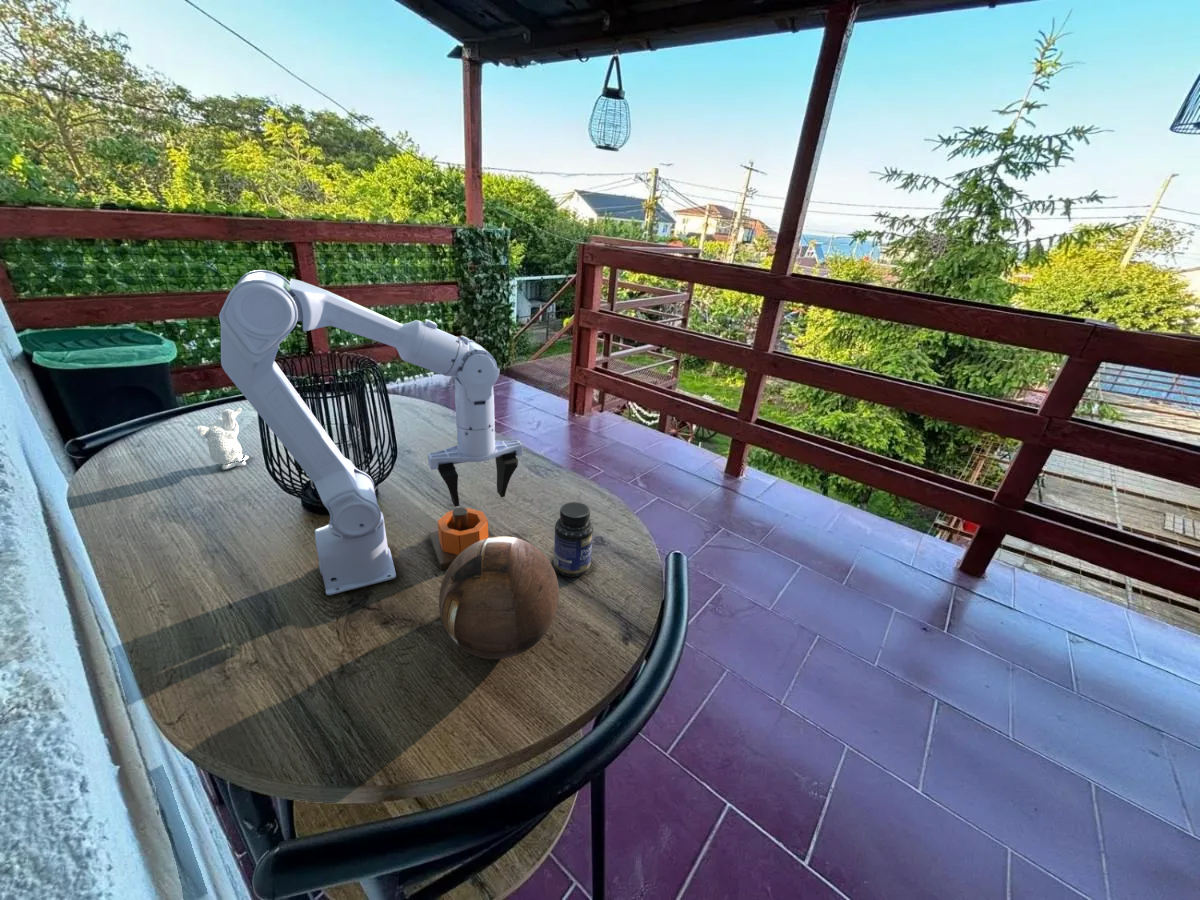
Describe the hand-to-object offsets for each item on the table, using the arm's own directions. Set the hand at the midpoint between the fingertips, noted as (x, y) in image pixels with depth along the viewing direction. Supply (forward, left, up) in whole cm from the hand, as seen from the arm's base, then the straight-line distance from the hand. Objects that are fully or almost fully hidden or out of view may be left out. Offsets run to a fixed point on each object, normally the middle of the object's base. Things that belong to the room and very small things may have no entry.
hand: (478, 498), depth 79 cm
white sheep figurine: (-39, +46, -9) cm, 61 cm away
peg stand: (-3, 0, -9) cm, 9 cm away
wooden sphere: (-3, -22, -9) cm, 24 cm away
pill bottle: (+12, -12, -9) cm, 19 cm away
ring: (-3, 0, -8) cm, 8 cm away
